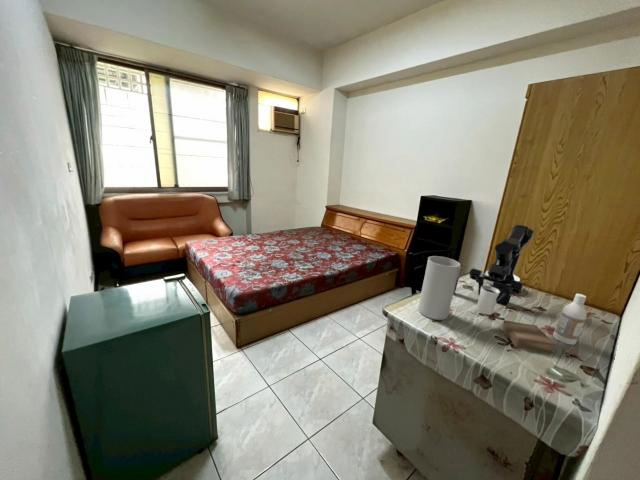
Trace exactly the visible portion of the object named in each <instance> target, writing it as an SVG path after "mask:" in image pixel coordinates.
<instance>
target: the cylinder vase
mask: <svg viewBox="0 0 640 480" xmlns="http://www.w3.org/2000/svg"><path fill="white" fill-rule="evenodd" d="M460 267H461V263H460V262H459V261H457V260H455V259H453V258H449V257H445V256H438V255H432V256H428V257H427V264H426V268H425V272H424V273H425V274H424V277H423V278H424V279H423V283H422V287H421V293H420V297H419V303H418V308H417V309H418V311H419V312H420V313H421V314H422V315H423V316H425V317H426V318H428V319H432V320H435V321H436V320H437V321H443V320H446V319H448V316H449V313H450V309H451V305H452V301H453V296H454V295H453V293H454V288H455V284H456V280H457V276H458V272H459V268H460Z"/></svg>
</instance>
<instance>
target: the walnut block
mask: <svg viewBox="0 0 640 480" xmlns="http://www.w3.org/2000/svg"><path fill="white" fill-rule="evenodd" d="M501 330H502V331H503V332H504V333H505V335H506V336H507V338H508V339H509V340H510V341H511V342H512V344H513V345H514V346H515V348H520V349H525V350H530V351H536V352H542V353H549V354H553V353H554V349H555V346H556V343H555V342H554V341H553V340H552V339H551V338H550V337H549V336H548V335H546V333H545V332H544V331H542V330H541V329H540V327H538V326H537V325H535V324H530V323H529V324H528V323H524V322H523V323H522V322H518V321H517V322H516V321H509V320H503V323H502V326H501Z"/></svg>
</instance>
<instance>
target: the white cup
mask: <svg viewBox="0 0 640 480" xmlns="http://www.w3.org/2000/svg"><path fill="white" fill-rule="evenodd" d="M499 293H500V291H499V290H498V289H496V288H494V287H493V286H490V285H483V286H482V287H481V290H480V295H478V300H477V305H476V310H477V311H478V312H479V313H481V314H484V315H489V316H490V315H493V313H494V310H495V307H496V304H497V303H496V302H497V301H496V299H497V297H498V295H499Z"/></svg>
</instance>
